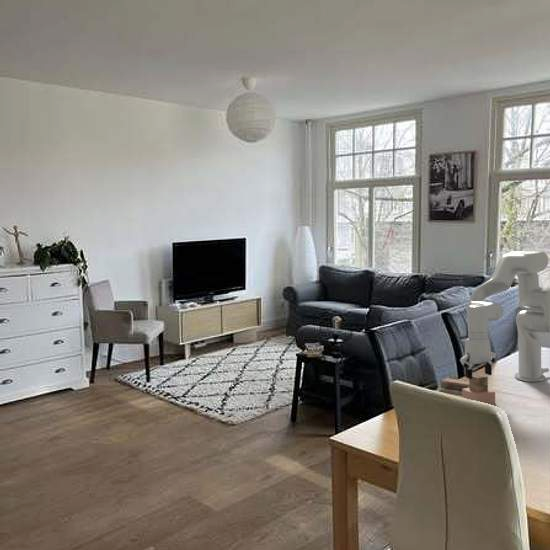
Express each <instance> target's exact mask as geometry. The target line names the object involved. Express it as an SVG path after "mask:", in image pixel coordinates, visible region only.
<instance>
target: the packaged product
mask: <svg viewBox="0 0 550 550" xmlns="http://www.w3.org/2000/svg"><path fill="white" fill-rule="evenodd" d="M464 388H469V381H468V380H460V379H454V378H448V377H446V378H444V379H442V380H441V381H440V387H438V391H439V392H445V393H449V394H455V395H461V396H462V389H464Z"/></svg>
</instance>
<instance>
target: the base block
mask: <svg viewBox="0 0 550 550" xmlns="http://www.w3.org/2000/svg"><path fill="white" fill-rule="evenodd" d="M462 397H464V398H467V399H471V400H476V401H480V402H484V403H488V404H491V405H495V404H496V391H495V390H492V389H490V388H488V391H485V392H480V393H477V392H475V391H472V390H470V389H469V388H464V389H462V395H461V398H462Z"/></svg>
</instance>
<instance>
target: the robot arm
mask: <svg viewBox="0 0 550 550" xmlns="http://www.w3.org/2000/svg"><path fill="white" fill-rule="evenodd" d="M548 264H549V256H548V254H547V253H546V252H544V251H540V250H513V251H509V252H508V253H504V254H503V255H501V256H500V258H499V260H498V262H497V265H496V266H495V269H494V271H493V273H492V274H491V277H490V279H489V280H487V281H486V282H484V283H482V284H481V285H480V286H478V287H477V288H475V289H474V291H473V292H472V293H471V296H470V297H469V299H468V302H467V304H466V308H465V309H466V311H465V312H466V315H467V338H466V339H465V345H464V355H463V356H462V357H460V359H459V361H460V363H461V366H463V368H464V369H465V378H467V379H468V380H469V379H472V375H473V369H472V367H473V366H474V365H479V364H483V363H485V364H484V375H485V374H486V375H487V376H492V374H493V372H492V371H493V370H492V369H493V367H492V366H494V362H496V357H497V353H496V352H493V351H492V348H491V347H492V346H491V342H490V338H489V334H490V331H489V329H488V326H489V325H488V324H489V323H488V322H490V321H491V322H493V321H498V320H499V319H501V317H502V316H503V314H504V309H503V306H502V305H501V304H500V303H498V302H494V301H493V302H492V301H486V299H487V298H489V297H492V296H495V295H498V294H501V293H504V292H507V291H508V290H510V288H511V287H512V284H513V282H514V281H515V277H516V276H517V284H518V286H517V287H518V301H519V304H520V306H522V307H524V308H528V309H524V310H520V311H518V312H517V314H516V316H515V323H516V330H517V335H518V336H517V338H518V372H517V373H515V374H514V378H515V379H517V380H520V381H523V382H529V383H530V382H531V383H537V382H543V381H545V380H546V376H545V375H544V373H549V372H550V369H549V368H548V367H545V368H543V367H542V339H541V337H540V335H539V334H538V333H543V334H550V287H540V279H539V274H538V273H539V272H543V271H544V270H546V269H547V267H548ZM529 308H530V309H529ZM532 309H538V310H532ZM540 309H541V310H540ZM542 310H543V311H542Z"/></svg>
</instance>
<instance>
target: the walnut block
mask: <svg viewBox="0 0 550 550" xmlns="http://www.w3.org/2000/svg"><path fill="white" fill-rule="evenodd" d="M488 376H489V375H485V374H482V373H475V374H474V373H472V379H469V378H468V382H469V389H470V390H472V391H475V392H477V393H480V392H485V391H488V389H489V387H488V386H489V380H488V379H489V377H488Z"/></svg>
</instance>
